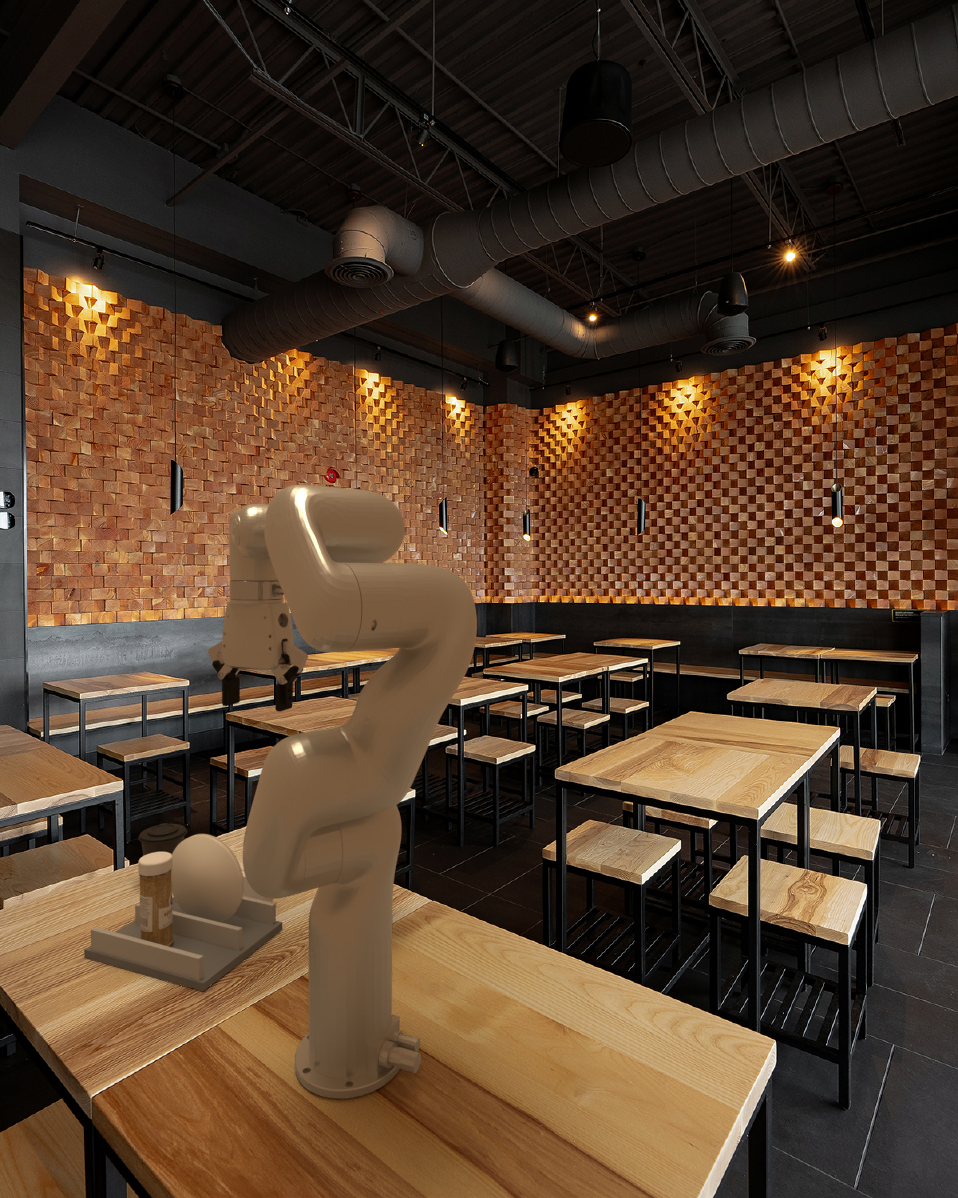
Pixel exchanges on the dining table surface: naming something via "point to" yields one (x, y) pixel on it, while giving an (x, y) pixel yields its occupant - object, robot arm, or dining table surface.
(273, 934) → the dish rack
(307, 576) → the robot arm
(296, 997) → the dining table surface
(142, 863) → the sprinkles bottle
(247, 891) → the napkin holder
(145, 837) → the dark brown tapered cylinder
